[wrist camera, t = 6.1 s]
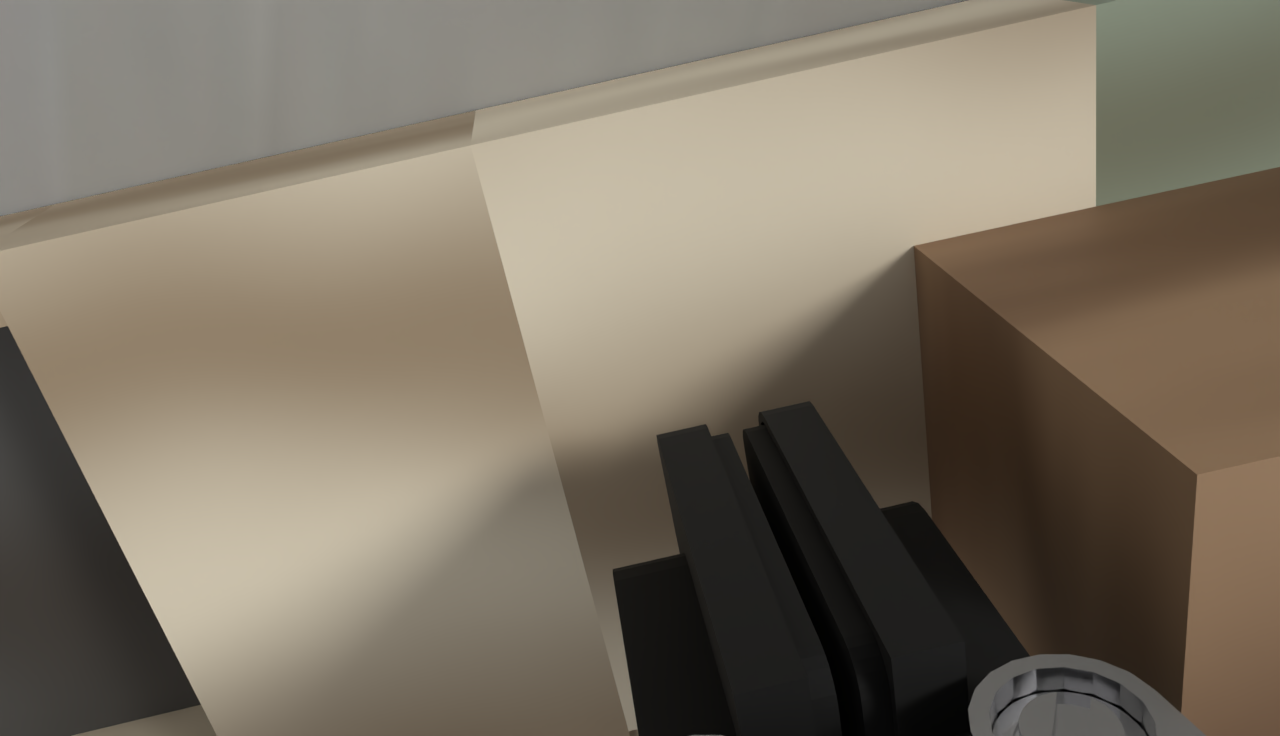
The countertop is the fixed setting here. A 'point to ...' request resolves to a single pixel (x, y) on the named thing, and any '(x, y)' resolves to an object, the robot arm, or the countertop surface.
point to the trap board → (523, 356)
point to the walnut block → (1120, 436)
